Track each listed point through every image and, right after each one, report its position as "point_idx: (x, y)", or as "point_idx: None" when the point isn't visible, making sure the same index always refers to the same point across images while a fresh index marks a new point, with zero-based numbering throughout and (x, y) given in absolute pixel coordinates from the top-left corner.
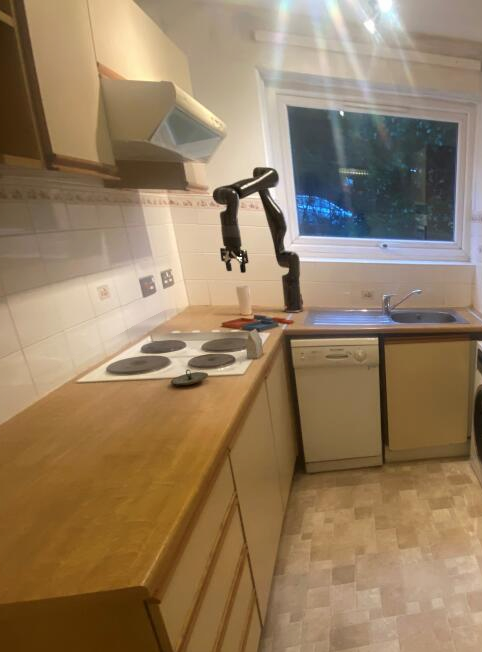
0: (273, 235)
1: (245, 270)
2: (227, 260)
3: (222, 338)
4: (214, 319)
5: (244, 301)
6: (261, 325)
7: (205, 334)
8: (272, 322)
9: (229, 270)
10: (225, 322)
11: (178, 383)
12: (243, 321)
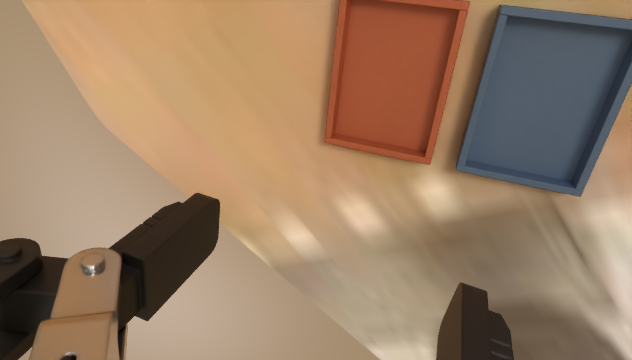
0: None
1: (507, 336)
2: (122, 357)
3: None
4: (197, 10)
5: None
6: (527, 67)
7: (360, 269)
8: (604, 26)
9: (213, 233)
10: (332, 125)
11: None
12: (366, 10)
